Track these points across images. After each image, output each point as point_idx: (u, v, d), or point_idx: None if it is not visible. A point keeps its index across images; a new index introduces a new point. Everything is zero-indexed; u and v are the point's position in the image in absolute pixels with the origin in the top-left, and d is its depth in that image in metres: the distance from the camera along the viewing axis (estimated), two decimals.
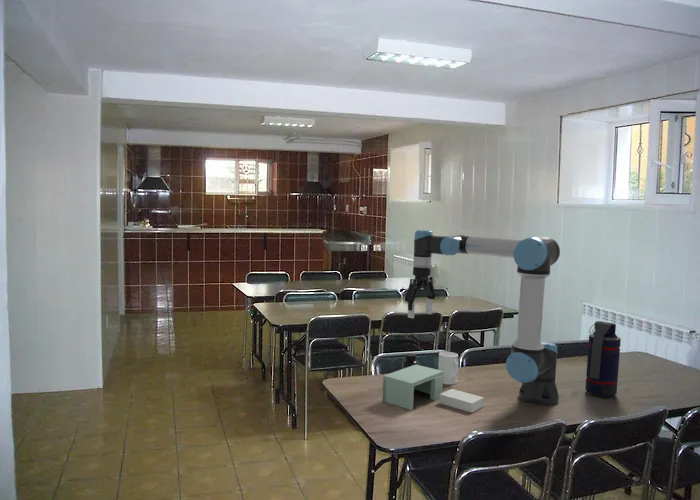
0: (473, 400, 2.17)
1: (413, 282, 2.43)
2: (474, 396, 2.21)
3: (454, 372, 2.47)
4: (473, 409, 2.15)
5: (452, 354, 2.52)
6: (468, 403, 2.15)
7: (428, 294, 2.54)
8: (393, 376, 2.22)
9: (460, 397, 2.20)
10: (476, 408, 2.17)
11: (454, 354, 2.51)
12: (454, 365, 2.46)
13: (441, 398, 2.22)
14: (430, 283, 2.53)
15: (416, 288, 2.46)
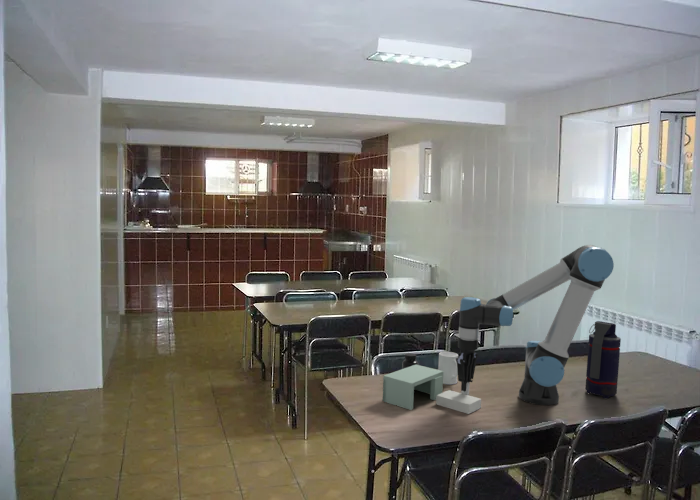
0: (470, 401, 2.15)
1: (460, 363, 2.18)
2: (471, 397, 2.20)
3: (454, 372, 2.47)
4: (470, 410, 2.13)
5: (452, 354, 2.52)
6: (465, 404, 2.13)
7: None
8: (393, 376, 2.22)
9: (457, 398, 2.18)
10: (473, 409, 2.15)
11: (454, 354, 2.51)
12: (454, 365, 2.46)
13: (438, 399, 2.21)
14: (473, 360, 2.26)
15: (465, 365, 2.22)
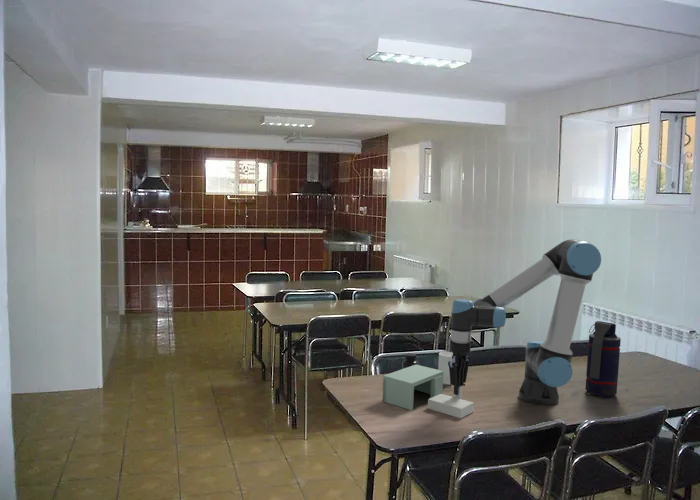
0: (462, 405, 2.11)
1: (452, 366, 2.14)
2: (464, 401, 2.15)
3: None
4: (462, 415, 2.09)
5: (452, 354, 2.52)
6: (457, 408, 2.09)
7: None
8: (393, 376, 2.22)
9: (449, 402, 2.14)
10: (465, 414, 2.10)
11: None
12: None
13: (430, 403, 2.16)
14: (466, 363, 2.21)
15: (457, 369, 2.17)
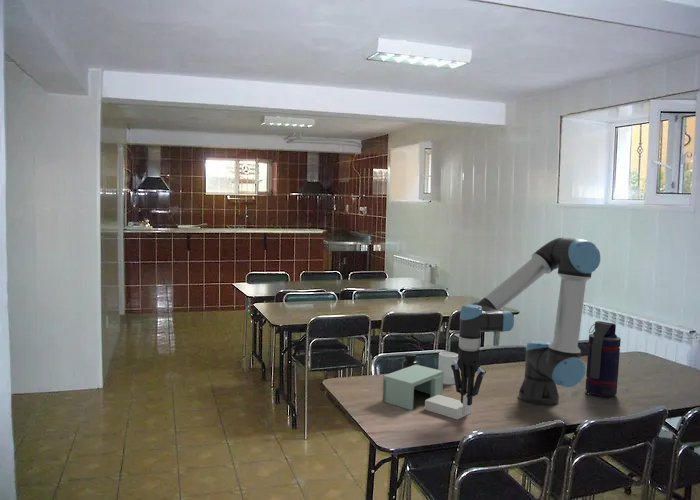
0: (459, 406, 2.10)
1: None
2: None
3: None
4: (459, 416, 2.07)
5: (452, 354, 2.52)
6: (454, 410, 2.08)
7: None
8: (393, 376, 2.22)
9: (446, 403, 2.12)
10: (462, 415, 2.09)
11: (454, 354, 2.51)
12: None
13: (427, 404, 2.15)
14: (477, 376, 2.05)
15: None
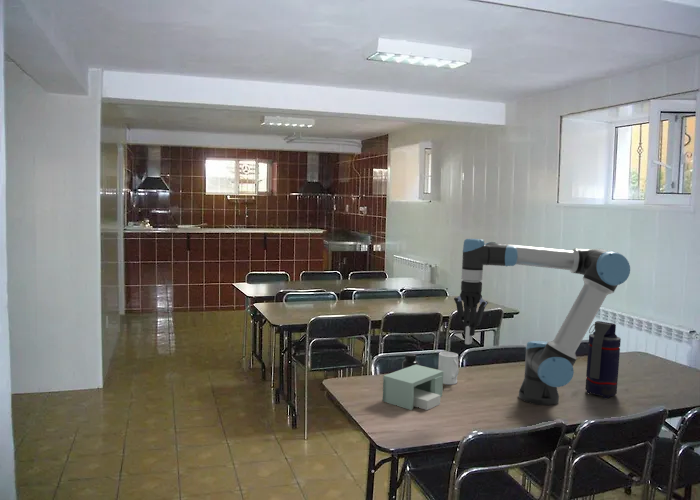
0: (429, 397, 2.18)
1: None
2: (431, 394, 2.23)
3: (454, 372, 2.47)
4: (428, 406, 2.16)
5: (452, 354, 2.52)
6: (423, 401, 2.16)
7: None
8: (393, 376, 2.22)
9: (416, 395, 2.21)
10: (432, 406, 2.18)
11: (454, 354, 2.51)
12: (454, 365, 2.46)
13: None
14: None
15: None
